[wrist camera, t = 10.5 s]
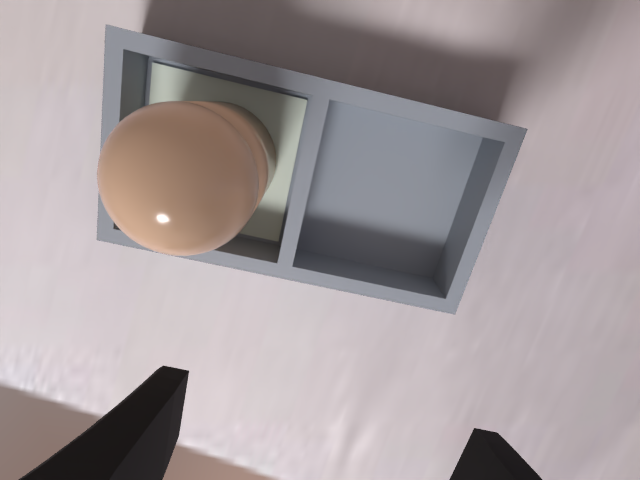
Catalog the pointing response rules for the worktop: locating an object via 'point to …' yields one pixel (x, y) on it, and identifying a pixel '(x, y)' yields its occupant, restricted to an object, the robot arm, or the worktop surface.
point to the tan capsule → (185, 174)
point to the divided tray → (334, 173)
